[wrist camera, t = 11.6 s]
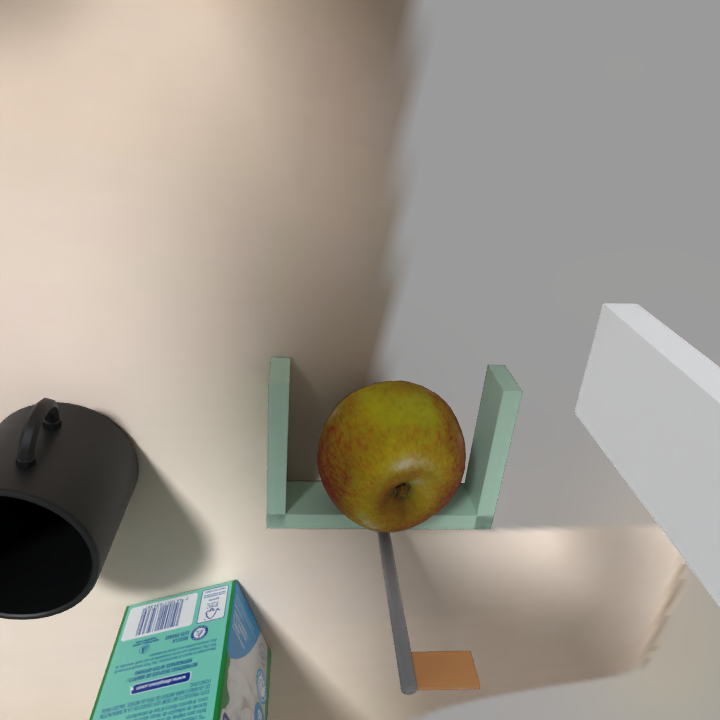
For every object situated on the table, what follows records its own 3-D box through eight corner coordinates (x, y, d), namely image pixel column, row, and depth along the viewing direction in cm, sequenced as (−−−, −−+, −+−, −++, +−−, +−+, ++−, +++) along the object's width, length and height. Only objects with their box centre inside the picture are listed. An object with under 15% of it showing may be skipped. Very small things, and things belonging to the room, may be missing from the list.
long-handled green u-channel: (271, 357, 38) (251, 527, 24) (505, 365, 39) (612, 528, 26) (269, 494, 43) (251, 701, 29) (477, 496, 44) (555, 693, 30)
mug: (149, 378, 38) (106, 463, 30) (135, 521, 43) (95, 628, 35) (-11, 352, 36) (-102, 435, 28) (-6, 504, 41) (-82, 612, 33)
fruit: (396, 495, 44) (414, 579, 37) (289, 444, 41) (286, 524, 34) (476, 398, 40) (513, 470, 33) (366, 335, 38) (381, 399, 31)
